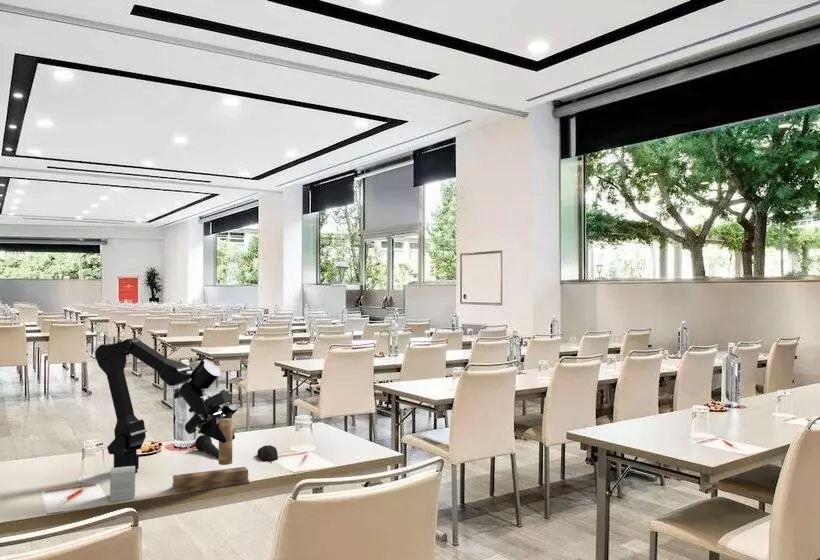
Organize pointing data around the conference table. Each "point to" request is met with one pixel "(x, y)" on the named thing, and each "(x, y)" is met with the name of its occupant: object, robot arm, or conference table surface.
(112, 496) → the product box
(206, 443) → the microphone
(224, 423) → the dowel
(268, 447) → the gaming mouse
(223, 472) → the ridge
